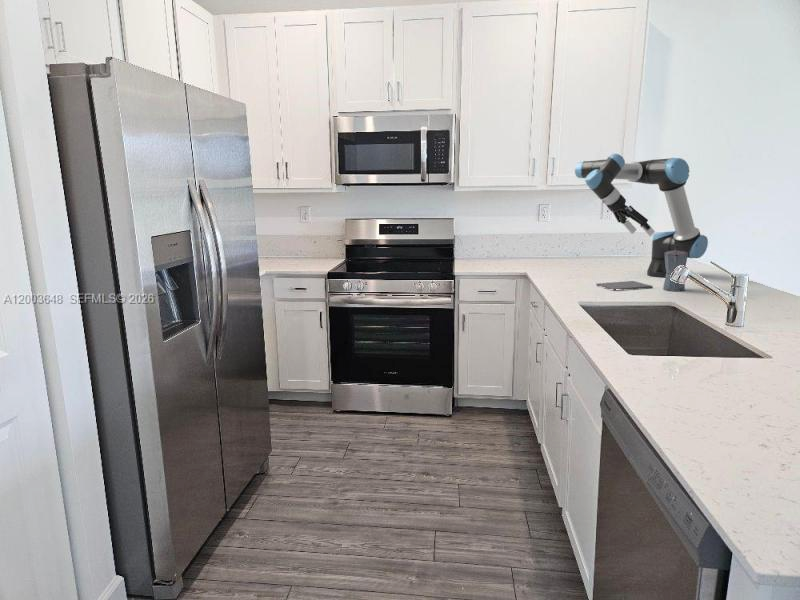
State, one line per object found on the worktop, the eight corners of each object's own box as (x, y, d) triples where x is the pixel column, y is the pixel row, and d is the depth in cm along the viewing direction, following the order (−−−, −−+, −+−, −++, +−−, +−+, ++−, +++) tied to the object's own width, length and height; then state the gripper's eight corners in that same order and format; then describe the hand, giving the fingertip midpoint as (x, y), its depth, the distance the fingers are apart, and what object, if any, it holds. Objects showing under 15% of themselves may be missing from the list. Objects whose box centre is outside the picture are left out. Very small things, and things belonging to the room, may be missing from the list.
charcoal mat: (633, 282, 261) (633, 280, 260) (652, 288, 246) (652, 285, 246) (596, 285, 257) (596, 283, 257) (613, 290, 243) (613, 288, 243)
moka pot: (663, 292, 236) (666, 248, 232) (660, 286, 250) (663, 244, 245) (687, 293, 232) (690, 248, 228) (682, 286, 246) (685, 244, 242)
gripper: (593, 205, 241) (621, 236, 246) (623, 206, 217) (654, 241, 221) (604, 193, 240) (633, 225, 245) (635, 193, 216) (666, 228, 221)
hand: (643, 232), depth 233 cm, fingers open, 13 cm apart
